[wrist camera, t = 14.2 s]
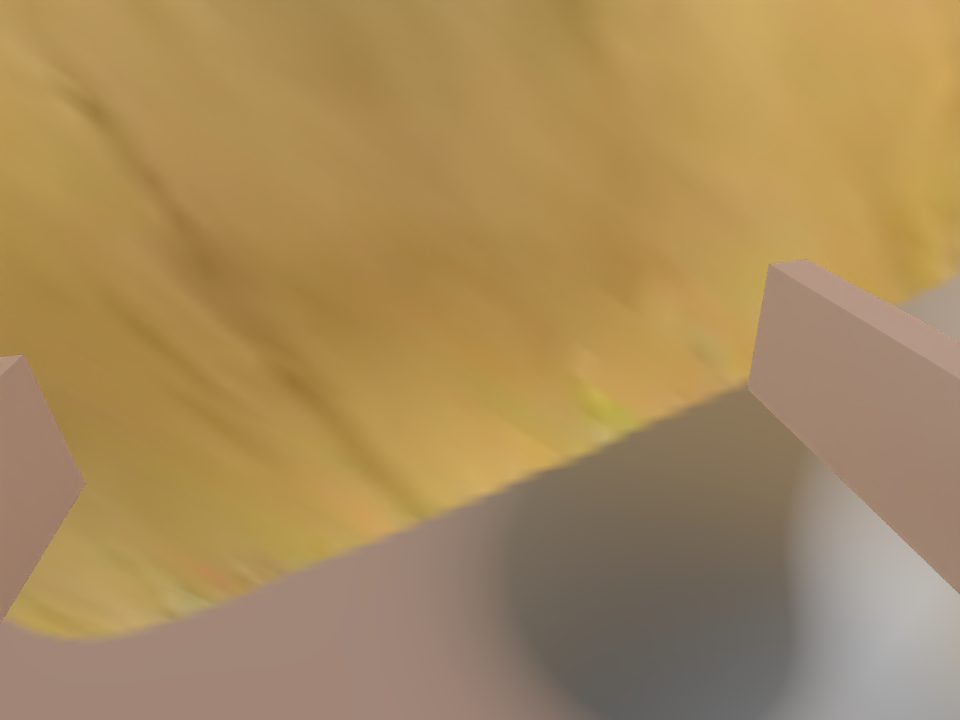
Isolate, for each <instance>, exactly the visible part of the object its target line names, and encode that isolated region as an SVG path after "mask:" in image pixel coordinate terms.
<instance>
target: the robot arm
mask: <svg viewBox="0 0 960 720" xmlns="http://www.w3.org/2000/svg"><path fill="white" fill-rule="evenodd" d="M747 389H748V390H749V391H750V392H751V393H752V394H753V395H754V396H755V397H757V399H759V400H760V401H761V402H762V403H763V404H764V405H765V406H766V407H767V408H768V409H769V410H770V411H771V412H772V413H773V414H774V415H775V416H776V417H777V418H778V419H779V420H780V421H781V422H782V423H783V424H784V425H785V426H786V427H787V428H789V429H790V430H791V431H792V432H793V433H794V434H795V435H796V436H797V437H798V438H799V439H800V440H801V441H802V442H803V443H804V444H805V445H806V446H807V447H808V448H809V449H810V450H811V451H812V452H813V453H814V454H815V455H816V456H817V457H819V458H820V459H821V460H822V461H823V462H824V463H825V464H826V465H827V466H828V467H829V468H830V469H831V470H832V471H833V472H834V473H835V474H836V475H837V476H838V477H839V478H840V479H841V480H842V481H843V482H844V483H845V484H846V485H847V486H849V487H850V488H851V489H852V490H853V491H854V492H855V493H856V494H857V495H858V496H859V497H860V498H861V499H862V500H863V501H864V502H865V503H866V504H867V505H868V506H869V507H870V508H871V509H872V510H873V511H874V512H875V513H876V514H877V515H878V516H879V517H881V519H883V520H884V521H885V522H886V523H887V524H888V525H889V526H890V527H891V528H892V529H893V530H894V531H895V532H896V533H897V534H898V535H899V536H900V537H901V538H902V539H903V540H904V541H905V542H906V543H907V544H908V545H909V546H910V547H911V548H913V549H914V550H915V551H916V552H917V553H918V554H919V555H920V556H921V557H922V558H923V559H924V560H925V561H926V562H927V563H928V564H929V565H930V566H931V567H932V568H933V569H934V570H935V571H936V572H937V573H938V574H939V575H940V576H941V577H942V578H943V579H945V580H946V581H947V582H948V583H949V584H950V585H951V586H952V587H953V588H954V589H955V590H956V591H957V592H958V593H959V594H960V342H959V341H957V340H955V339H954V338H952V337H950V336H948V335H946V334H944V333H942V332H941V331H939V330H937V329H935V328H933V327H931V326H930V325H928V324H926V323H924V322H922V321H920V320H919V319H916V318H915V317H913V316H911V315H909V314H907V313H906V312H904V311H902V310H900V309H898V308H896V307H894V306H893V305H891V304H889V303H887V302H885V301H883V300H882V299H880V298H878V297H876V296H874V295H872V294H870V293H869V292H867V291H865V290H863V289H861V288H859V287H858V286H856V285H854V284H852V283H850V282H848V281H846V280H845V279H843V278H841V277H839V276H837V275H835V274H834V273H832V272H830V271H828V270H826V269H824V268H822V267H821V266H819V265H817V264H815V263H813V262H811V261H809V260H808V259H804V260H795V261H787V262H779V263H771V264H769V266H768V272H767V278H766V283H765V289H764V295H763V301H762V306H761V312H760V318H759V324H758V329H757V335H756V341H755V347H754V352H753V358H752V364H751V370H750V375H749V381H748V387H747ZM85 484H86V483H85V481H84V479H83V477H82V475H81V473H80V471H79V469H78V467H77V465H76V463H75V461H74V458H73V456H72V454H71V452H70V450H69V448H68V446H67V444H66V442H65V440H64V438H63V436H62V433H61V431H60V429H59V427H58V425H57V423H56V421H55V419H54V417H53V415H52V413H51V411H50V409H49V406H48V404H47V402H46V400H45V398H44V396H43V394H42V392H41V390H40V388H39V386H38V384H37V381H36V379H35V377H34V375H33V373H32V371H31V369H30V367H29V365H28V363H27V361H26V359H25V357H24V354H21V355H13V356H4V357H0V623H1V622H2V620H3V618H4V617H5V615H6V613H7V612H8V610H9V608H10V607H11V605H12V604H13V602H14V600H15V599H16V597H17V595H18V594H19V592H20V590H21V589H22V587H23V586H24V584H25V582H26V581H27V579H28V577H29V576H30V574H31V572H32V571H33V569H34V567H35V566H36V564H37V563H38V561H39V559H40V558H41V556H42V554H43V553H44V551H45V549H46V548H47V546H48V545H49V543H50V541H51V540H52V538H53V536H54V535H55V533H56V531H57V530H58V528H59V527H60V525H61V523H62V522H63V520H64V518H65V517H66V515H67V513H68V512H69V510H70V509H71V507H72V505H73V504H74V502H75V500H76V499H77V497H78V495H79V494H80V492H81V491H82V489H83V487H84V486H85Z"/></svg>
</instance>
